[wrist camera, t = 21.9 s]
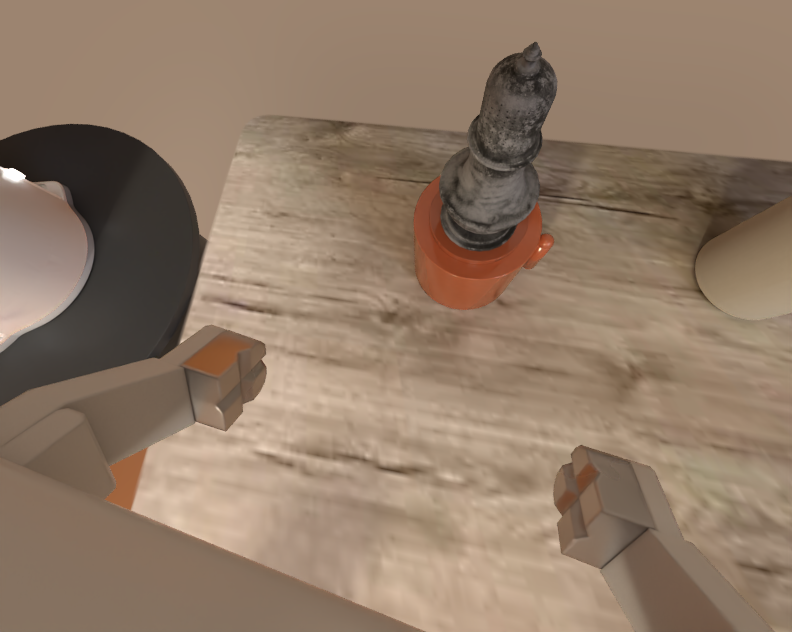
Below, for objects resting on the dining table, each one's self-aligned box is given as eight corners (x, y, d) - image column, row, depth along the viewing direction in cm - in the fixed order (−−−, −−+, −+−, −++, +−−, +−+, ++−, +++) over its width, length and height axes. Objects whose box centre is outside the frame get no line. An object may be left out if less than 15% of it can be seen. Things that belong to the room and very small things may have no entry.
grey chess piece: (463, 270, 23) (509, 139, 12) (420, 202, 25) (423, 23, 13) (539, 230, 24) (658, 63, 12) (492, 165, 25) (558, -41, 13)
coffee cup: (407, 302, 32) (404, 267, 24) (421, 214, 34) (423, 153, 26) (524, 319, 31) (564, 288, 22) (532, 227, 33) (571, 168, 25)
